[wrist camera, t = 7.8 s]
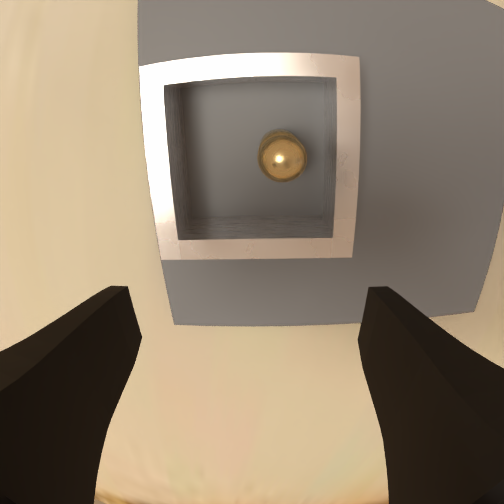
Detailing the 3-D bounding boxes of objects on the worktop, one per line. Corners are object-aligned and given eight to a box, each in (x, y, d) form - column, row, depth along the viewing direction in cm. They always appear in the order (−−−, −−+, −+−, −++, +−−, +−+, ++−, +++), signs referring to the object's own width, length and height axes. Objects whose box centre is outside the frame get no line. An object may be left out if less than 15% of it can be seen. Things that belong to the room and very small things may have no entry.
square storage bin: (342, 65, 13) (359, 56, 10) (339, 232, 17) (352, 257, 14) (161, 72, 13) (139, 66, 11) (177, 235, 17) (161, 259, 15)
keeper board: (498, 11, 10) (504, 9, 9) (469, 305, 20) (473, 311, 19) (143, -22, 11) (138, -27, 11) (177, 317, 21) (174, 324, 20)
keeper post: (297, 127, 15) (309, 135, 11) (298, 164, 16) (309, 186, 12) (258, 128, 15) (255, 136, 11) (260, 165, 16) (257, 187, 12)
